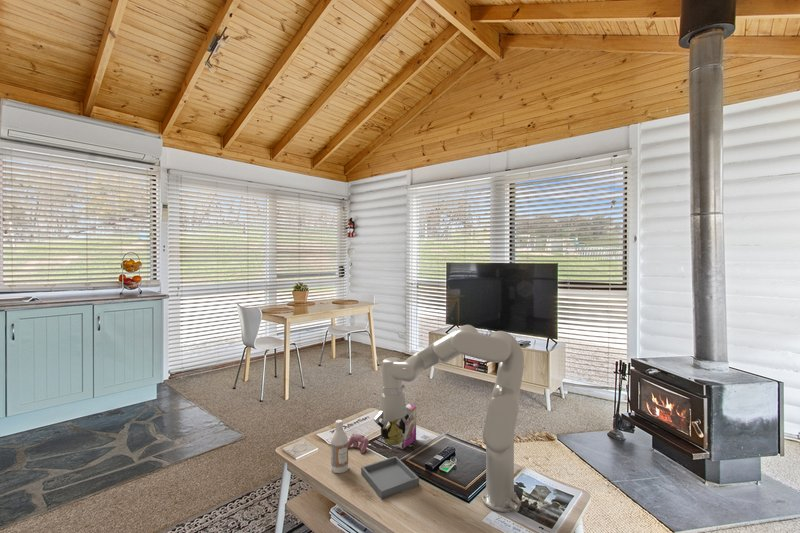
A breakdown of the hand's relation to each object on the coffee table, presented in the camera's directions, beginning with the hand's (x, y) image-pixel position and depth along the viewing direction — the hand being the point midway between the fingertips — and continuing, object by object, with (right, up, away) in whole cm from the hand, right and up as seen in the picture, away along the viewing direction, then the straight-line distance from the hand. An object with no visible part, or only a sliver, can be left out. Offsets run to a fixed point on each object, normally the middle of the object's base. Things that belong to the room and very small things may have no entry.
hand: (393, 434), depth 146 cm
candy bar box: (+5, -17, +28) cm, 33 cm away
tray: (-2, -18, 0) cm, 18 cm away
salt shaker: (0, -3, 0) cm, 3 cm away
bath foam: (-22, -18, +8) cm, 29 cm away
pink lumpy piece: (-17, -17, +24) cm, 34 cm away
